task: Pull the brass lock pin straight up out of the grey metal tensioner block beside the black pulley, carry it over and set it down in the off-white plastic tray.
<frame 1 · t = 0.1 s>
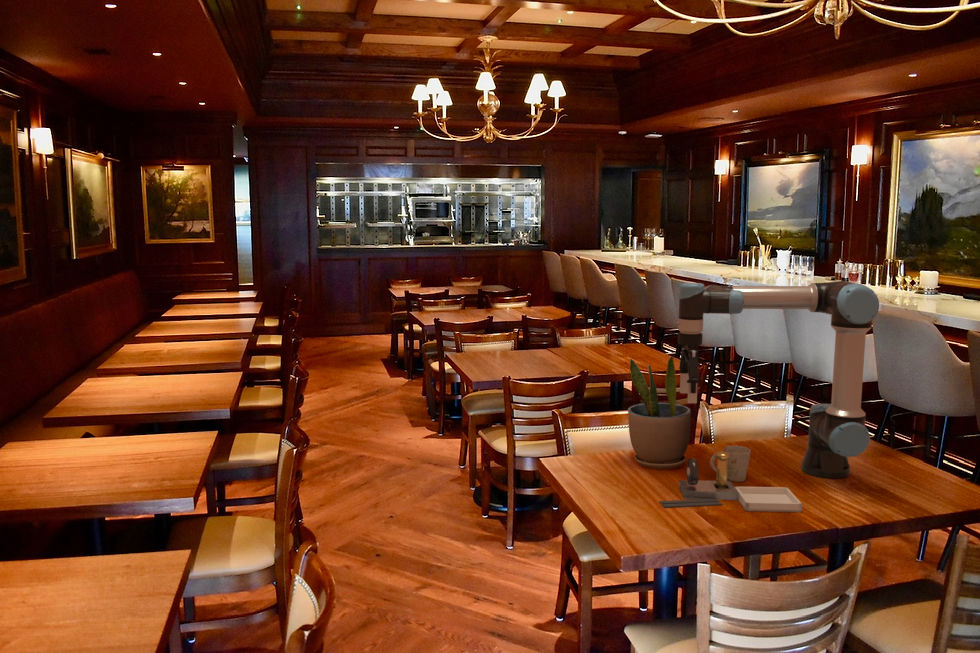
hand: (688, 398, 253), 28 cm above the table, fingers open, 13 cm apart
tensioner block: (708, 493, 246), on the table
potted plant: (657, 463, 277), on the table
pin: (721, 494, 246), resting in tensioner block
mug: (729, 479, 261), on the table
tray: (766, 502, 238), on the table
pair of grey strips: (690, 503, 238), on the table
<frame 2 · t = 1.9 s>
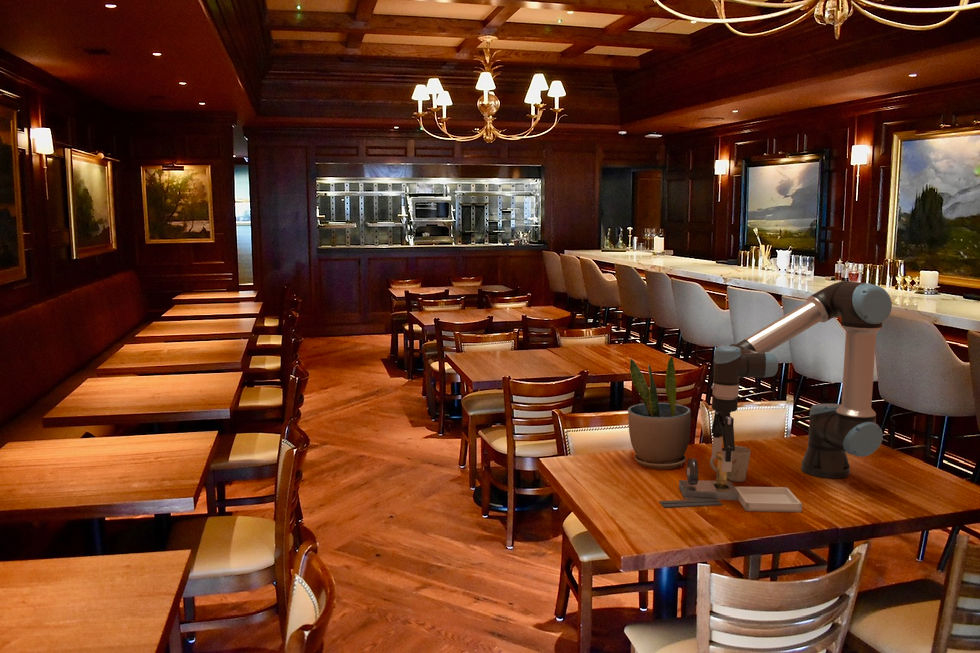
hand: (721, 464, 245), 10 cm above the table, fingers open, 13 cm apart
nothing on the table moved.
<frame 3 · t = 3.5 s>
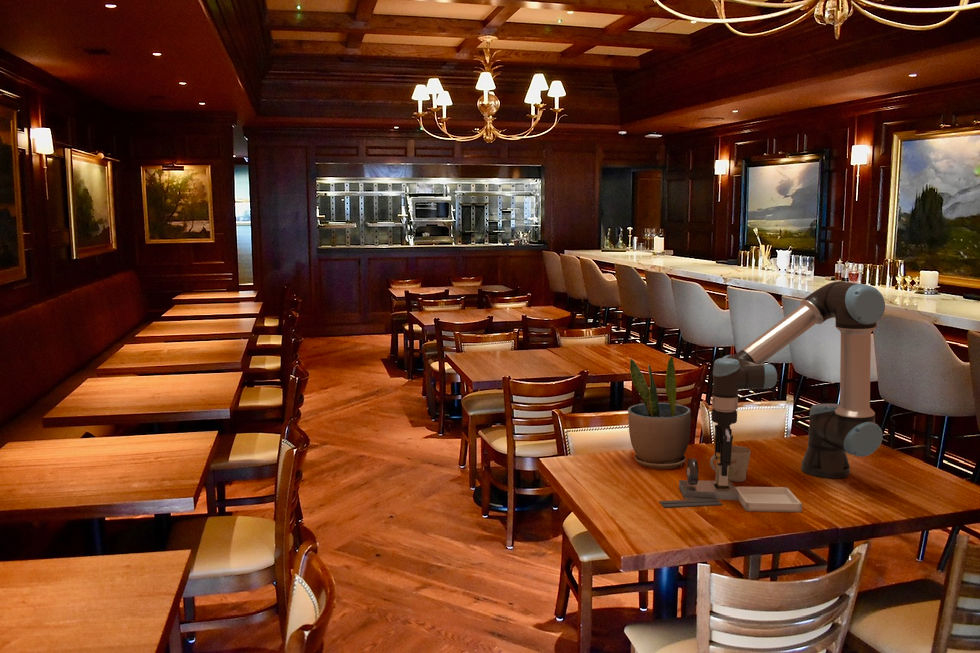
hand: (721, 482, 246), 4 cm above the table, fingers closed on pin, 3 cm apart
pin: (721, 494, 246), resting in tensioner block, touching gripper
everything else where it was.
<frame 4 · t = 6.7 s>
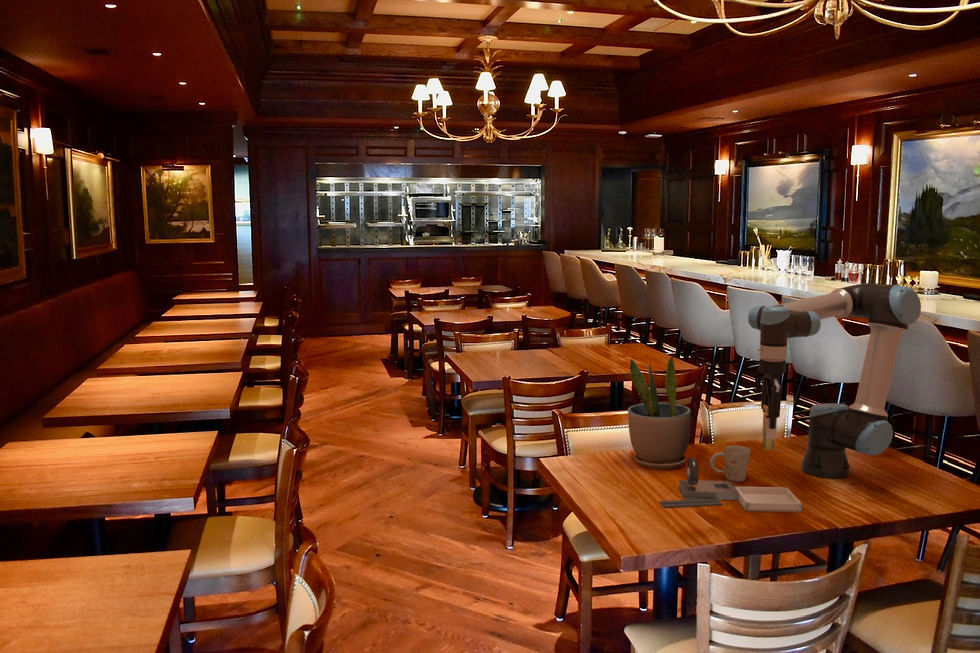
hand: (769, 436, 236), 20 cm above the table, fingers closed on pin, 3 cm apart
pin: (768, 448, 236), point 17 cm above the table, touching gripper
everything else where it was.
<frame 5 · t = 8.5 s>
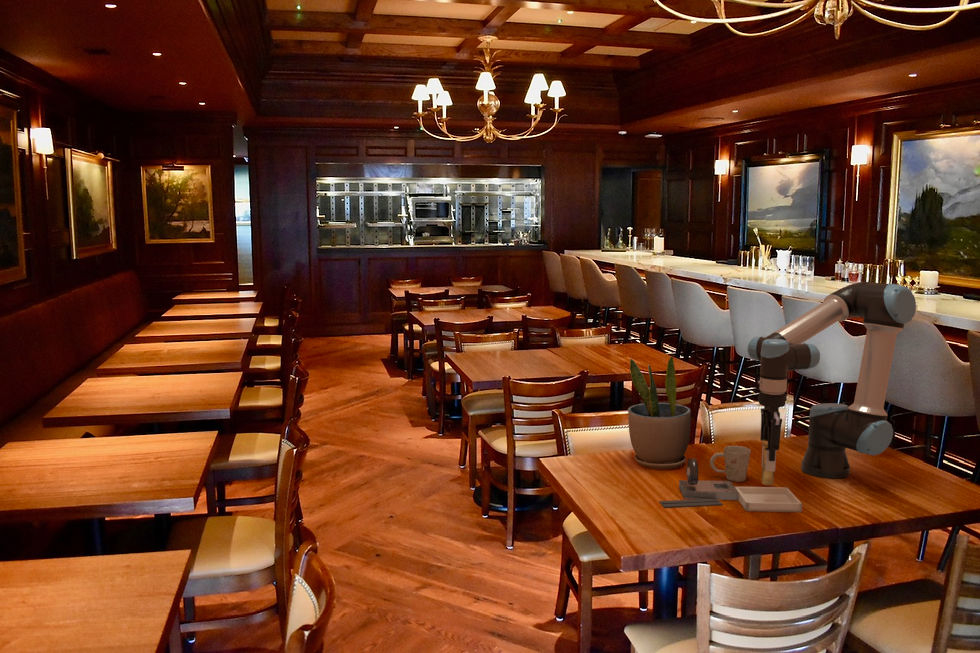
hand: (768, 468, 237), 11 cm above the table, fingers closed on pin, 3 cm apart
pin: (767, 483, 237), point 6 cm above the table, touching gripper
everything else where it was.
when the fingers open (6 cm above the table, at t = 10.1 s): pin stays where it is, resting on tray.
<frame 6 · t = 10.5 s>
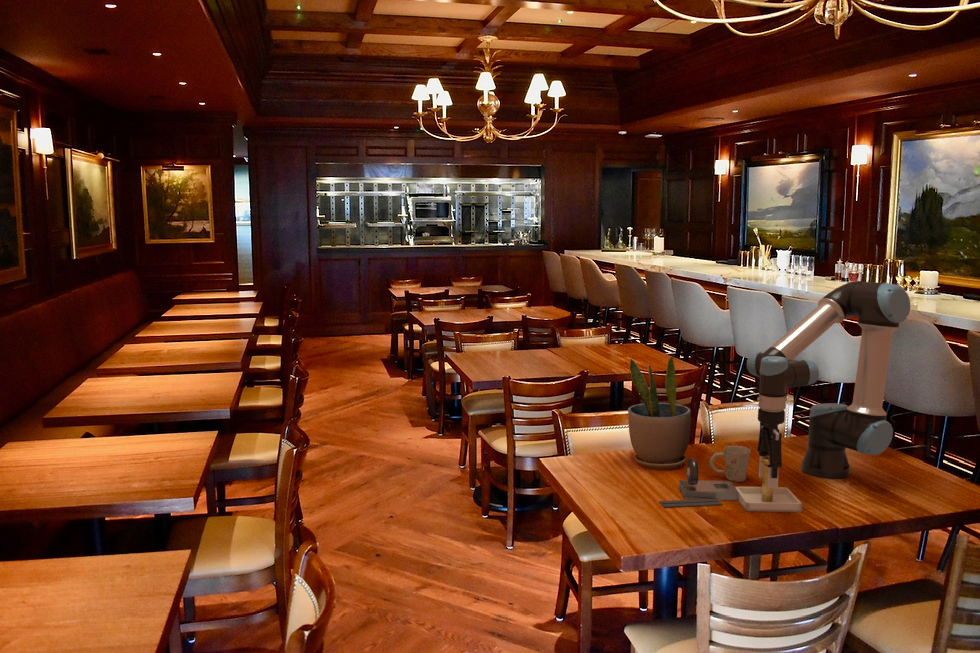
hand: (767, 482, 238), 6 cm above the table, fingers open, 9 cm apart
pin: (767, 500, 238), point 1 cm above the table, touching tray
everything else where it was.
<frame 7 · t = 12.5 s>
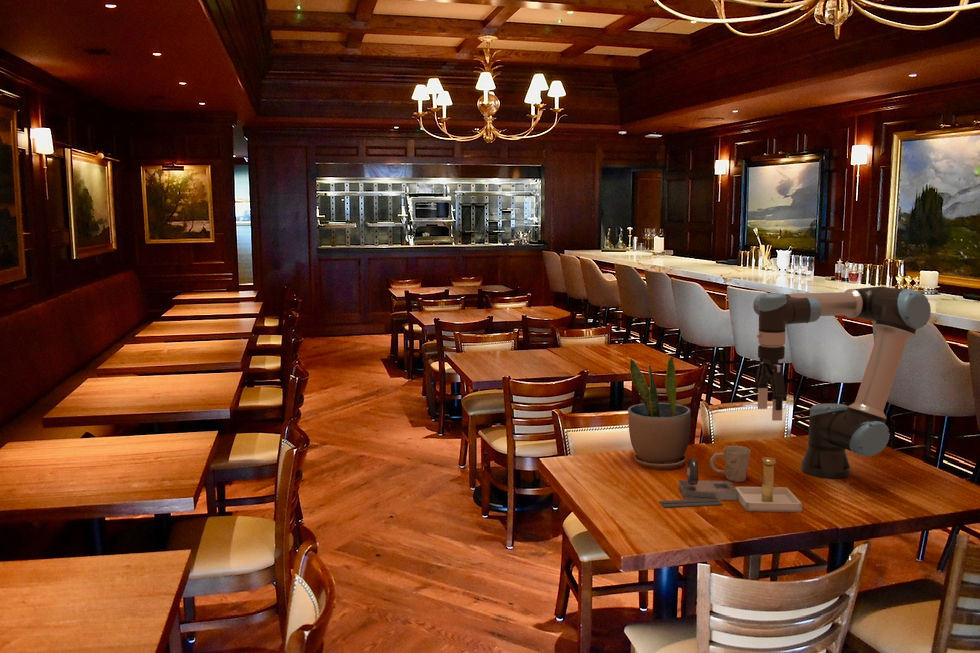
hand: (769, 414, 240), 26 cm above the table, fingers open, 13 cm apart
nothing on the table moved.
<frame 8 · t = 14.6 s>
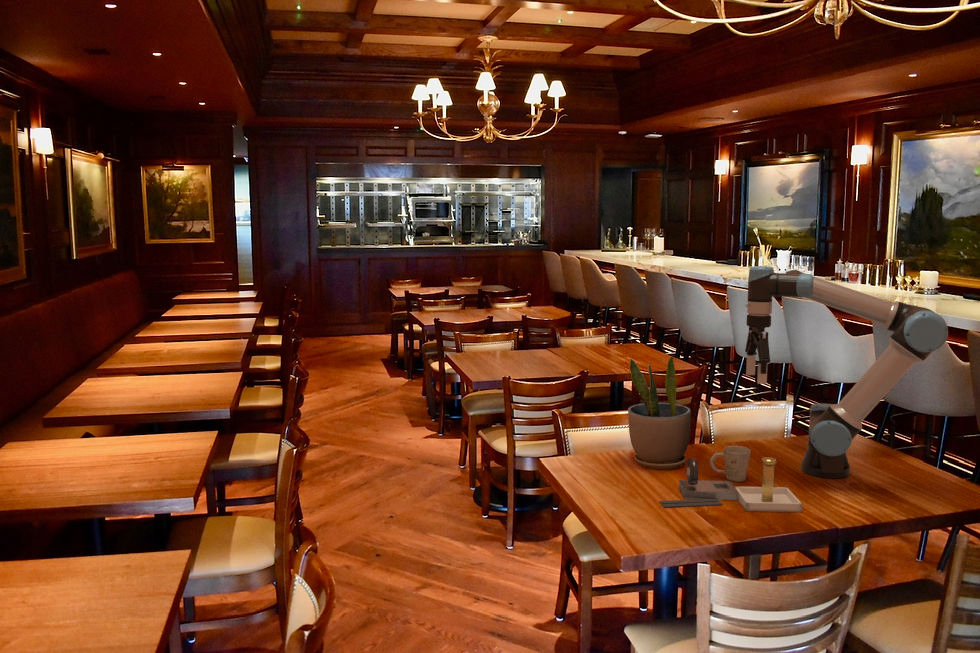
hand: (756, 379, 258), 33 cm above the table, fingers open, 13 cm apart
nothing on the table moved.
at the end: pin inside the target area on the tray (0.1 cm from its centre), point 0.6 cm above the tray's base; the gripper is holding nothing; pin moved 13.9 cm from its start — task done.
